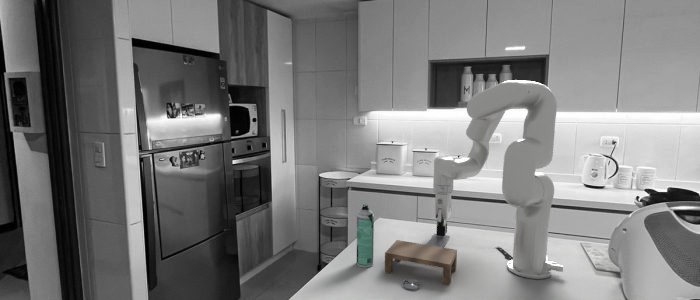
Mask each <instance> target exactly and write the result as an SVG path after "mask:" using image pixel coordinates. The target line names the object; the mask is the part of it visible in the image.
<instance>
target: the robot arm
mask: <svg viewBox="0 0 700 300" xmlns="http://www.w3.org/2000/svg"><path fill="white" fill-rule="evenodd" d="M557 108H558V106H557V99H556V96H555V94H554V92H553V91H552V90H551V89H550V88H549V87H548V86H547V85H545V84H542V83H540V82H536V81H531V80H517V79H515V80H505V81H503V82H500V83H498V84H495V85H493V86H491V87H489V88H486V89H483V90H482V91H480V92H477V93H475V94H473V95H472V96H471V97H470V98H469V99H468V101H467V105H466V113H467V115H468V116H469V118H471V120H470V122H469V124H468V126H467V128H466V129H465V135H466V137H467V138H468V139H470V141H472V145H471V146H472V147H471V149H470V151H469V153H468V155H467V156H466V157H462V158H461V157H460V158H455V159H454V158H453V157H451V156H445V155H444V156H441V155H439V156H436V157H435V158H434V160H433V184H432V185H433V187H432V189H433V190H432V192H433V193H435V197H434V198H435V199H434V219H436V234H437V235H438V236H445V219H446V234H447V233H448V219H449V218H450V217H451V215H452V194H454V180H455V181H457V180H463V179H468V178H473V177H476V176H477V175H478V174H479V173H480V172H481V171H482V169H483V168H484V165H486V162H487V160H488V157H489V154H490V140H491V139H492V137H493V134H494V133H495V132H496V129H497V127H498V126H499V124H500V122H501V120H502V118H503V117H504V115H505V113H506V111H508V110H516V109H517V110H522V109H525V110H527V114H526V116H525V118H524V121H523V129H522V130H523V132H522V138H521V139H516V140H514V141H513V142H511V143H510V144H509V145H508V146H507V148H506V150H505V153H504V156H503V167H502V168H503V169H502V184H501V189H502V190H501V191H502V195H503V196H502V197H503V198H504V200H505V202H506V203H507V204H508V205H509V206H511V207H513V208H515V209H516V211H515V217H514V218H515V219H514V235H513V236H514V237H513V249H512V251H513V252H512V257H513V260H508V261H507V263H506V264H507V265H506V267H507V269H508V271H510V272H512V273H513V274H514V275H517V276H519V277H522V278H527V279H533V280H534V279H535V280H542V279H547V278H549V277H551V275H552V271H556V272H561V273H563V272H564V265H561V264H559V263H558V262H557V261H556V262H555V261H550V260H548V255H547V254H548V240H549V227H550V215H551V209H552V204H553V201H554V197H555V185H554V183H553V181H552V178H550V177H549V176H548V175H547V174H545V173H543V172H539V171H536V170H538V169H543V168H545V167H547V166H549V165H550V164H551V162H552V160H553V156H554V143H555V133H556V131H555V129H556V119H557V118H556V117H557V111H558V109H557ZM441 217H442V218H441ZM441 220H443V221H441Z"/></svg>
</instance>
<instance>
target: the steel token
mask: <svg viewBox="0 0 700 300" xmlns="http://www.w3.org/2000/svg"><path fill="white" fill-rule="evenodd" d="M402 288H404V289H405V290H408V291H417V290H419V289H420V288H421V282H420V281H418V280H416V279H411V278H410V279H407V278H406V279H404V280H403V281H402Z"/></svg>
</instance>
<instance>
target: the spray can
mask: <svg viewBox="0 0 700 300" xmlns="http://www.w3.org/2000/svg"><path fill="white" fill-rule="evenodd" d="M356 213H357V214H356V265H357V266H358V267H360V268H371V267H373V266H374V238H375V237H374V231H375V229H374V226H375V225H374V224H375V221H374V220H375V217H374V216H375V215H374V212H373V211H372V210H370V208H369V205H368V204H362V207H361V208H360V210H358V211H357V212H356Z"/></svg>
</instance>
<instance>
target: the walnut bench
mask: <svg viewBox="0 0 700 300" xmlns="http://www.w3.org/2000/svg"><path fill="white" fill-rule="evenodd" d="M457 256H458V249H454V248H448V247H444V248H443V247H437V246H431V245H427V244H423V243H417V242H412V241H406V240H399V239H397V240H395V242H393V243H392V244H391V246H390V247H389V248H388V249H387V250H386V251H385V252H384V273H386V274H389V275H390V274H392V273H393V271H394V261H396V262H402V261H403V262H409V263H415V264H421V265H425V266H429V267H430V266H431V267H435V268H441V269H442V285H444V286H450V285H451V281H452V272H456V271H457V262H458V261H457V259H458V257H457Z"/></svg>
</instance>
